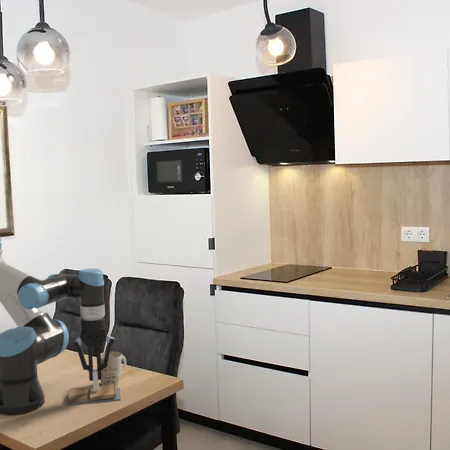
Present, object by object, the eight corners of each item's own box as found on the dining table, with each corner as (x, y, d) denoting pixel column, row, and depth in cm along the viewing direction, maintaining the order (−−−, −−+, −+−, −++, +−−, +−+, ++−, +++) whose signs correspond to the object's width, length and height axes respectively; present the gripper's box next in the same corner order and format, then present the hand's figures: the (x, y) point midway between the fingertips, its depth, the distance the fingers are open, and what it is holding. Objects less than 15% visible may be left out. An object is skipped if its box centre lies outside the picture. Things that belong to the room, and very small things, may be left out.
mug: (92, 386, 196) (91, 357, 195) (116, 374, 207) (115, 346, 206) (112, 389, 192) (111, 360, 191) (135, 377, 203) (134, 349, 202)
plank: (90, 400, 181) (89, 397, 181) (91, 390, 190) (90, 386, 190) (116, 397, 183) (115, 393, 183) (115, 387, 192) (115, 383, 192)
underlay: (68, 405, 180) (68, 404, 180) (70, 393, 190) (70, 392, 189) (120, 400, 183) (120, 398, 183) (120, 388, 193) (119, 387, 193)
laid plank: (68, 403, 180) (68, 399, 180) (70, 392, 189) (70, 389, 189) (89, 401, 181) (88, 397, 181) (90, 391, 190) (89, 387, 190)
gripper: (71, 322, 179) (74, 396, 181) (113, 319, 182) (116, 392, 184) (72, 316, 186) (75, 387, 189) (113, 313, 189) (116, 383, 191)
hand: (95, 389), depth 186 cm, fingers closed
